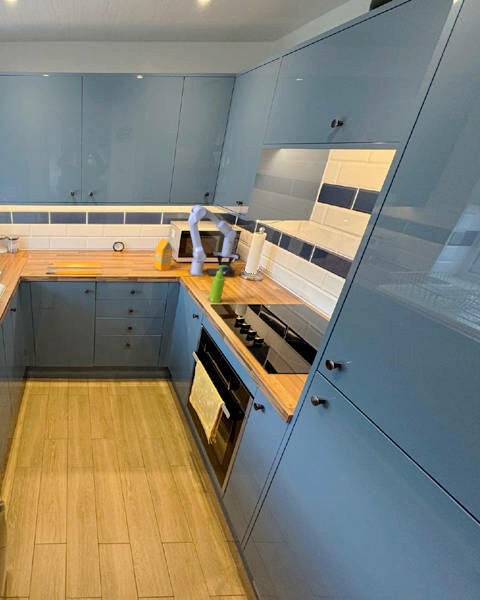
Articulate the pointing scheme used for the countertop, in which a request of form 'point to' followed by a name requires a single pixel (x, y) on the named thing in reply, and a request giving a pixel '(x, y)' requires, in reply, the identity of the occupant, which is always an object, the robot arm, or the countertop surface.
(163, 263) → the orange juice
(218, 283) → the soap dispenser
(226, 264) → the trainer
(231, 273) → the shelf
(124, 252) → the countertop surface
